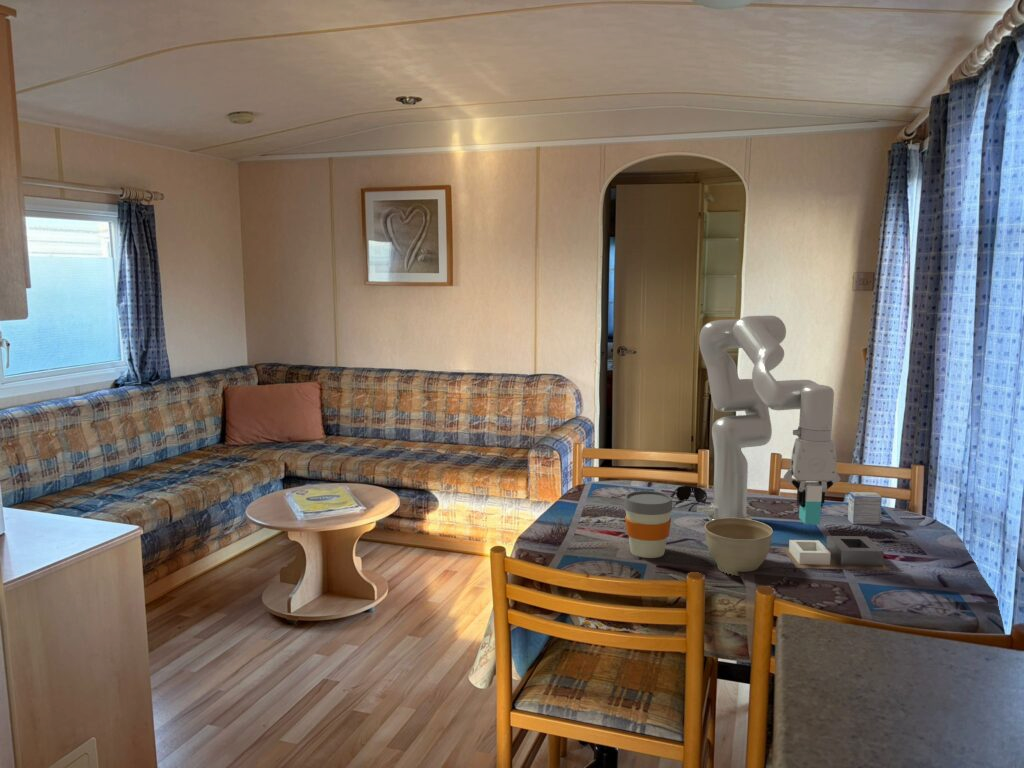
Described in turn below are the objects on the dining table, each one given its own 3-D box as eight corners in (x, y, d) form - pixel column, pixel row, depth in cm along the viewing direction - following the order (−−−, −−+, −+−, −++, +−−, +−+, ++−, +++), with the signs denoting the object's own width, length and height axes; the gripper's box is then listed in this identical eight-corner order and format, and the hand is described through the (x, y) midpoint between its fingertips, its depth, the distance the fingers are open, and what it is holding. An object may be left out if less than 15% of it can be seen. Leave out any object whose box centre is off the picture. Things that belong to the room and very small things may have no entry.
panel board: (796, 573, 182) (797, 567, 182) (780, 552, 196) (781, 547, 195) (889, 575, 180) (890, 569, 180) (866, 554, 194) (867, 548, 194)
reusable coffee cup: (635, 563, 190) (636, 506, 188) (616, 546, 202) (616, 492, 200) (680, 557, 193) (681, 502, 191) (658, 541, 205) (659, 488, 203)
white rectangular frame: (799, 563, 184) (799, 552, 184) (789, 551, 193) (789, 539, 192) (829, 564, 184) (830, 553, 183) (818, 551, 192) (818, 540, 192)
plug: (804, 524, 185) (807, 485, 183) (798, 517, 190) (801, 480, 188) (819, 524, 185) (822, 486, 183) (813, 517, 190) (815, 480, 188)
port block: (840, 566, 183) (841, 550, 182) (826, 550, 193) (827, 535, 192) (882, 566, 182) (883, 551, 181) (866, 551, 192) (866, 536, 191)
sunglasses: (708, 502, 240) (708, 488, 238) (696, 517, 230) (695, 502, 229) (677, 497, 245) (677, 483, 244) (664, 511, 236) (663, 497, 235)
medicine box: (874, 520, 221) (876, 492, 219) (880, 525, 216) (882, 496, 215) (847, 519, 221) (848, 491, 220) (852, 524, 217) (854, 496, 216)
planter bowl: (719, 552, 196) (720, 513, 195) (780, 567, 186) (782, 525, 184) (692, 571, 184) (693, 529, 182) (756, 588, 174) (757, 544, 172)
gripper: (784, 437, 181) (780, 509, 184) (855, 438, 179) (849, 511, 182) (776, 430, 188) (772, 500, 191) (843, 431, 187) (838, 501, 190)
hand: (810, 504), depth 187 cm, fingers closed on plug, 3 cm apart
